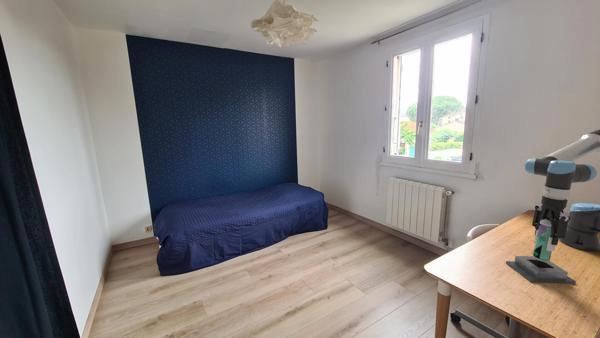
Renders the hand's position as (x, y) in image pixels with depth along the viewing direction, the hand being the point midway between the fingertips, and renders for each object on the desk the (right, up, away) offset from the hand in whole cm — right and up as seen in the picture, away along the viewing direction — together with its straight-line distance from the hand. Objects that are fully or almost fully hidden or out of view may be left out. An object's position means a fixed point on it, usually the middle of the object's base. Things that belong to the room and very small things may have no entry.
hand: (543, 246), depth 108 cm
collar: (0, -13, +3) cm, 13 cm away
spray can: (0, -6, +1) cm, 6 cm away
